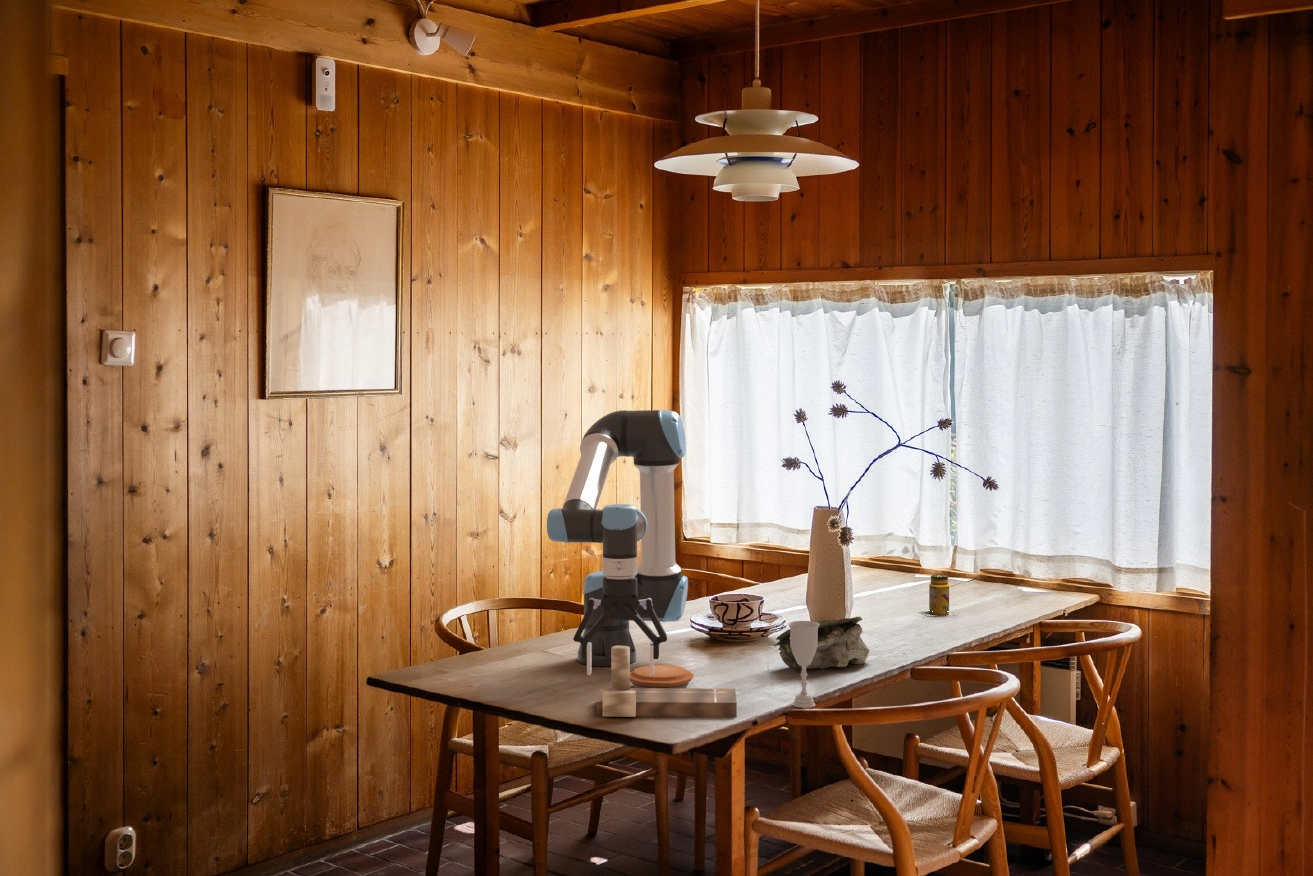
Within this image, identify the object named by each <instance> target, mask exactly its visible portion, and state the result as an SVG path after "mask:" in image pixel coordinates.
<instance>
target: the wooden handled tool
mask: <svg viewBox="0 0 1313 876" xmlns="http://www.w3.org/2000/svg"><path fill="white" fill-rule="evenodd" d="M610 668H611V671H610V672H611V673H610V674H611V688H612V690H615V691H603V693H602V704H603V716H602V717H618V718H619V717H624V718H625V717H628V718H629V717H637V716H636V691H628V690H629V689H630V688H631V681H630V672H631V663H630V647H628V646H613V647H611V666H610Z"/></svg>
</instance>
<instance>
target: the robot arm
mask: <svg viewBox="0 0 1313 876" xmlns="http://www.w3.org/2000/svg"><path fill="white" fill-rule="evenodd" d="M684 429H685V428H684V424H683V421H682V417H681V416H680V415H679V413H678V412H676V411H674V410H664V409H652V410H651V409H649V410H647V409H645V410H625V409H624V410H616V411H612V412H610V413H607V414H605V415H604V416H602V417H601V418H599V419H598V420H597V421H596V422H594V423H593V424H592V425H591V426H590V427H589V428H588V429H587V431H586V432H585V433H584V435H583V437H582V440H581V443H580V447H579V451H580V454H581V455H580V457H579V460H578V463H577V466H576V468H575V472H574V473H573V474H574V475H573V477H572V480H571V481H570V482H571V483H570V485H569V488H568V492H567V494H566V496H565V498H564V499H565V500H564V502H563V504H562V508H560V507H558V508H552V509H551V510H549V512H548V514H547V518H546V531H547V532H546V533H547V537H548V538H549V540H550V541H551V542H557V543H566V544H568V543H576V544H577V543H583V544H585V543H595V544H599V543H600V544H601V543H602V570H598V571H596V572H595V571H594V572H592V573H589V574H588V575H586V576H585V578H584V583H583V584H584V585H583V591H582V594H583V618H582V620H581V622H580V623H579V626H578V628H577V629H576V632H575V634H574V636H573V638H572V639H573V641H574V642H575V643H576V642H577V643H579V647H578V650H577V662H578V663H581V664H583V665H586V675H587V676H591V675H592V672H593V671H592V667H593V666H594V667H611V647H613V646H628V647H630V664H632V663H634V662H636V661H637V649H636V646H635V644H634V641H633V637H632V634H631V632H630V621H633V622H634V623H635V624H636V625H637V627H639V629H640V630H641V631H642V632H643V633H644V634H645V636H646V637H647V638H648V639H649V640H650V641H651V642H650V643H649V665H650V675H654V665H655V660H658V659H659V657H660V644H662V643H665V642H667V641H668V635H667V632H666V630H665V629H664V626H663V625H662V623H665V622H666V623H667V622H669V623H670V622H678V621H680V620H681V619H682V617H683V615H684V613H685V612H684V611H685V609H686V604H687V598H688V591H689V590H688V589H689V578H688V577H687V576H685V575H682V567H681V566H680V565H679V564H678V563H677V561H676V530H675V529H676V525H675V523H676V522H675V487H674V486H675V482H674V481H675V480H674V479H675V478H674V477H675V475H674V473H675V472H674V471H675V469H676V468H677V467H678V466H679V465H680V458H681V459H682V458H684V457H685V455H686V451H687V449H686V444H687V443H686V435H685V434H686V433H685V430H684ZM619 457H625V458H626V457H627V458H628V457H631V458H633V466H634V467H635V468H636V469H638V471H639V493H640V494H639V497H640V498H639V499H640V503H639V504H640V509H639V508H638V509H637V507H636V506H635V505H633V504H625V503H624V504H623V503H618V504H616V503H615V504H607V505H604V507H603V508H602V509H597V507H598V505H599V502H600V498H601V495H602V492H603V489H604V485H605V483H606V480H607V476H608V473H609V470H610V466H611V465H612V464H613V463H615V461H616V460H617V459H618V458H619ZM639 541H640V543H641V544H640V545H641V563H640V564H639V565H638V542H639ZM646 622H652V624H653V626H654V629H655V630H656V632H657V634H655V633H654V631H653V630H652V629H651V628H650V627H649V625H648V624H647V623H646ZM661 622H662V623H661ZM582 633H583V634H582ZM657 635H659V636H657Z"/></svg>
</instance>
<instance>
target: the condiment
mask: <svg viewBox="0 0 1313 876" xmlns="http://www.w3.org/2000/svg"><path fill="white" fill-rule="evenodd" d="M928 587H929V588H928V589H929V590H928V595H929V600H928V603H929V604H928V605H929V606H928V611H927V610H926V611H918V612H919V613H920V614H922V615H924V616H927V617H939V616H940V617H947V616H950V617H951V616H954V614H952V613H950V584H949V576H948V575H946V574H931V575H930V583H929V585H928ZM929 610H930V611H929ZM932 611H933V612H932ZM947 611H949V612H947ZM949 614H950V615H949Z"/></svg>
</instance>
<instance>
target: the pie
mask: <svg viewBox="0 0 1313 876" xmlns="http://www.w3.org/2000/svg"><path fill="white" fill-rule="evenodd" d="M694 675H695V674H694V673H693V672H692V671H690V670H688V669H687V668H685V667H682V666H678V665H671V664H654V675H650V664H648V665H644V666H640V667H637V668H635V669H634V670H632V671H631V670H630V683H632V686H633V688H688V685H689V683H690V682H691V681H692V679H693V678H694Z"/></svg>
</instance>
